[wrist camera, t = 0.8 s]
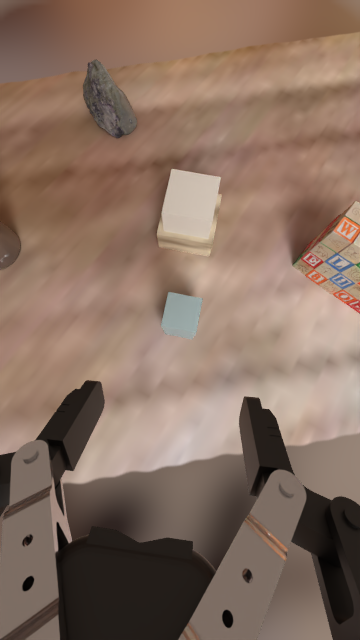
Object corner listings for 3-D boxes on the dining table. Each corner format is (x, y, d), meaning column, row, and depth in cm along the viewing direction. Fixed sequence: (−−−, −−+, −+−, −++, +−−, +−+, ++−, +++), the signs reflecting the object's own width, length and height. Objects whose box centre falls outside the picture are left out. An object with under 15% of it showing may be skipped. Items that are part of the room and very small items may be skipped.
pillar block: (192, 339, 41) (196, 332, 31) (165, 333, 41) (160, 325, 31) (197, 313, 42) (202, 298, 32) (171, 307, 42) (168, 291, 32)
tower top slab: (208, 239, 39) (212, 221, 35) (163, 231, 40) (161, 212, 35) (215, 199, 41) (220, 177, 36) (172, 191, 41) (171, 168, 36)
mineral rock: (86, 95, 51) (64, 31, 41) (133, 90, 51) (122, 25, 41) (89, 143, 49) (66, 87, 39) (139, 137, 49) (128, 81, 39)
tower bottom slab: (208, 257, 44) (212, 244, 39) (159, 248, 45) (156, 234, 40) (217, 212, 46) (221, 194, 41) (169, 203, 46) (168, 185, 41)
